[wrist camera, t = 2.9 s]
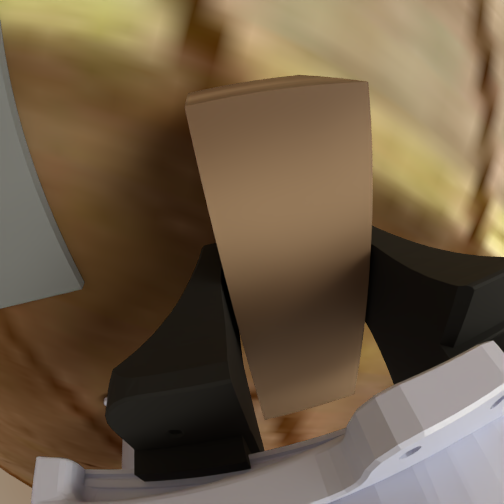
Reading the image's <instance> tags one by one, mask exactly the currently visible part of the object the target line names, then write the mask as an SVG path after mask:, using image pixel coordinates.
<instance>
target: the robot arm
mask: <svg viewBox="0 0 504 504" xmlns="http://www.w3.org/2000/svg"><path fill="white" fill-rule="evenodd" d="M365 322H366V324H367V325H368V327H369V329H370V330H371V332H372V334H373V337H374V339H375V341H376V343H377V345H378V347H379V349H380V351H381V354H382V356H383V358H384V361H385V363H386V365H387V368H388V370H389V373H390V375H391V378H392V380H393V383H394V385H393V386H391V387H389V388H387V389H385V390H384V391H382V392H380V393H378V394H376V395H374V396H373V397H372V398H370V399H369V400H368V401H367V402H365V403H364V404H363V405H362V406H360V407H359V408H358V409H357V410H356V412H355V413H354V415H353V416H352V418H351V419H350V421H349V423H348V425H347V427H346V428H344V429H341V430H338V431H335V432H332V433H329V434H326V435H323V436H319V437H316V438H313V439H309V440H306V441H302V442H299V443H295V444H291V445H288V446H284V447H280V448H276V449H271V450H267V451H264V447H263V443H262V440H261V436H260V432H259V428H258V424H257V420H256V416H255V412H254V408H253V404H252V400H251V395H250V391H249V387H248V383H247V378H246V374H245V370H244V365H243V359H242V351H241V343H240V334H239V328H238V324H237V320H236V317H235V313H234V309H233V305H232V302H231V298H230V294H229V290H228V286H227V283H226V279H225V275H224V271H223V267H222V263H221V259H220V255H219V251H218V247H217V243H213V244H209V245H205V246H204V247H203V248H202V250H201V254H200V257H199V260H198V262H197V265H196V267H195V270H194V272H193V274H192V277H191V279H190V281H189V283H188V285H187V287H186V289H185V290H184V292H183V294H182V296H181V298H180V299H179V301H178V303H177V304H176V306H175V307H174V309H173V310H172V312H171V313H170V315H169V316H168V317H167V318H166V320H165V321H164V322H163V323H162V325H161V326H160V327H159V328H158V329H157V331H156V332H155V333H154V334H153V335H152V336H151V337H150V338H149V339H148V340H147V341H146V342H145V343H144V344H143V345H142V346H141V347H140V348H139V349H138V350H136V351H135V352H134V353H133V354H132V355H131V356H129V357H128V358H127V359H126V360H124V361H123V362H122V363H121V364H119V365H118V366H117V367H116V368H114V369H113V371H112V375H111V379H110V383H109V388H108V395H107V397H106V398H104V404H105V406H106V413H105V416H106V420H107V423H108V424H109V426H110V427H111V428H112V430H113V431H115V432H116V433H117V434H118V435H119V436H120V437H121V438H122V439H123V444H122V469H110V470H98V469H84V468H83V467H82V466H80V465H79V464H78V463H76V462H75V461H73V460H70V459H67V458H58V457H43V456H38V457H36V464H35V471H34V479H33V487H32V498H31V504H504V257H488V256H476V255H468V254H461V253H455V252H450V251H445V250H440V249H436V248H432V247H428V246H425V245H422V244H418V243H415V242H412V241H409V240H406V239H403V238H401V237H398V236H395V235H393V234H390V233H388V232H385V231H383V230H381V229H378V228H376V227H374V226H372V234H371V254H370V270H369V283H368V295H367V305H366V315H365Z"/></svg>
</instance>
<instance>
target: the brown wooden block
mask: <svg viewBox="0 0 504 504" xmlns="http://www.w3.org/2000/svg"><path fill="white" fill-rule="evenodd" d="M185 111H186V115H187V120H188V125H189V129H190V134H191V138H192V143H193V147H194V151H195V156H196V160H197V164H198V169H199V173H200V177H201V182H202V186H203V190H204V194H205V198H206V203H207V207H208V211H209V215H210V219H211V223H212V227H213V231H214V235H215V239H216V243H217V247H218V251H219V255H220V259H221V263H222V267H223V271H224V275H225V279H226V283H227V286H228V290H229V294H230V298H231V302H232V305H233V309H234V313H235V317H236V320H237V324H238V328H239V331H240V335H241V339H242V342H243V346H244V350H245V353H246V357H247V360H248V364H249V367H250V371H251V374H252V378H253V381H254V385H255V388H256V392H257V395H258V399H259V402H260V406H261V409H262V412H263V416H264V419H265V420H266V419H271V418H275V417H279V416H283V415H287V414H291V413H294V412H298V411H302V410H305V409H309V408H312V407H316V406H319V405H323V404H326V403H329V402H332V401H335V400H339V399H342V398H345V397H348V396H351V395H354V393H355V387H356V381H357V375H358V368H359V362H360V355H361V348H362V340H363V332H364V324H365V315H366V305H367V295H368V283H369V270H370V254H371V234H372V194H373V173H372V134H371V115H370V100H369V87H368V82H366V81H358V80H350V79H341V78H331V77H320V76H306V75H295V76H286V77H278V78H270V79H263V80H256V81H249V82H243V83H237V84H232V85H226V86H221V87H216V88H211V89H206V90H201V91H196V92H192V93H188V96H187V100H186V103H185Z"/></svg>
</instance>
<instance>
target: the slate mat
mask: <svg viewBox="0 0 504 504" xmlns="http://www.w3.org/2000/svg"><path fill="white" fill-rule="evenodd" d="M83 285H84V281H83V279H82V277H81V275H80V273H79V271H78V269H77V267H76V265H75V263H74V261H73V259H72V257H71V255H70V252H69V250H68V248H67V246H66V244H65V242H64V240H63V237H62V235H61V233H60V231H59V228H58V226H57V224H56V221H55V219H54V217H53V214H52V212H51V209H50V207H49V205H48V202H47V200H46V197H45V194H44V192H43V189H42V187H41V184H40V181H39V179H38V176H37V173H36V170H35V167H34V164H33V161H32V158H31V155H30V152H29V149H28V146H27V143H26V140H25V136H24V133H23V130H22V126H21V123H20V119H19V115H18V112H17V108H16V104H15V100H14V96H13V91H12V87H11V82H10V78H9V73H8V68H7V62H6V57H5V51H4V45H3V38H2V30H1V22H0V309H1V308H5V307H9V306H13V305H17V304H22V303H26V302H30V301H34V300H38V299H43V298H47V297H51V296H55V295H59V294H64V293H68V292H72V291H76V290H81V289H82V288H83Z"/></svg>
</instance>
